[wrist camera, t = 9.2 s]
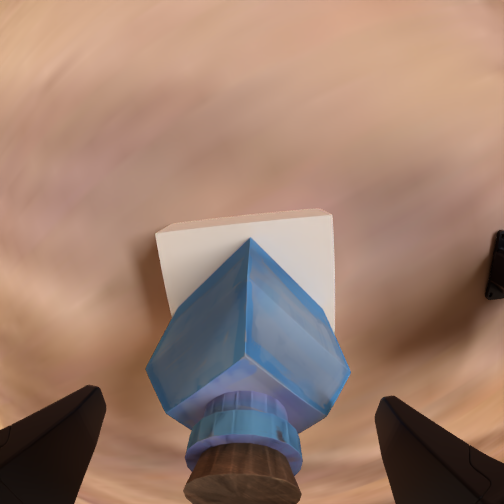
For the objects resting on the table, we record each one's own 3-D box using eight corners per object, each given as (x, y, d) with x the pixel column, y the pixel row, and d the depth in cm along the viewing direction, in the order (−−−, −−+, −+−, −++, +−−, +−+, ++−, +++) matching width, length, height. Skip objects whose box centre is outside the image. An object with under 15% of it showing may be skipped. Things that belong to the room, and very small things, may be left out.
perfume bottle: (177, 307, 17) (94, 473, 6) (250, 236, 16) (237, 393, 5) (250, 368, 18) (244, 538, 7) (323, 309, 17) (394, 481, 6)
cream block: (317, 207, 20) (332, 214, 16) (322, 335, 22) (333, 364, 18) (173, 222, 20) (155, 233, 16) (197, 346, 23) (187, 376, 19)
